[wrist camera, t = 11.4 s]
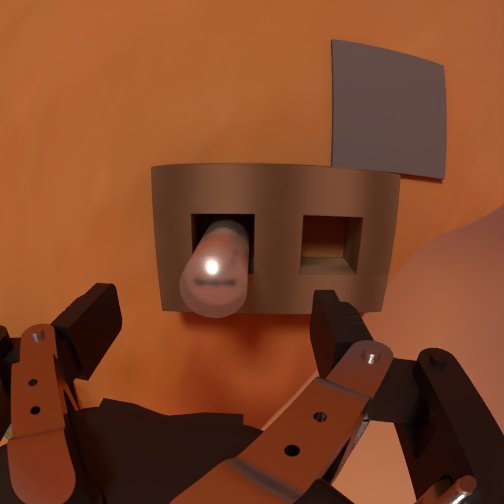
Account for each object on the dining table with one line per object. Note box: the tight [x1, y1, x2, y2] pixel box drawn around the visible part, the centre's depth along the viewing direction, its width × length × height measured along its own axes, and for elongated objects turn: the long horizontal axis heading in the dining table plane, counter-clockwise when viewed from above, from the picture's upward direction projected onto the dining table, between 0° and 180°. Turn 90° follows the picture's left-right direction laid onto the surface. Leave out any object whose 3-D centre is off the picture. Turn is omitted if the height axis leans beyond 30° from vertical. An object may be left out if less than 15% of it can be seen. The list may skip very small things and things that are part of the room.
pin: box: [179, 214, 250, 318], centre depth 18 cm, size 3×3×10 cm
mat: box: [331, 39, 446, 179], centre depth 19 cm, size 10×10×1 cm
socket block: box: [151, 163, 401, 314], centre depth 21 cm, size 16×10×4 cm, turn 89°
